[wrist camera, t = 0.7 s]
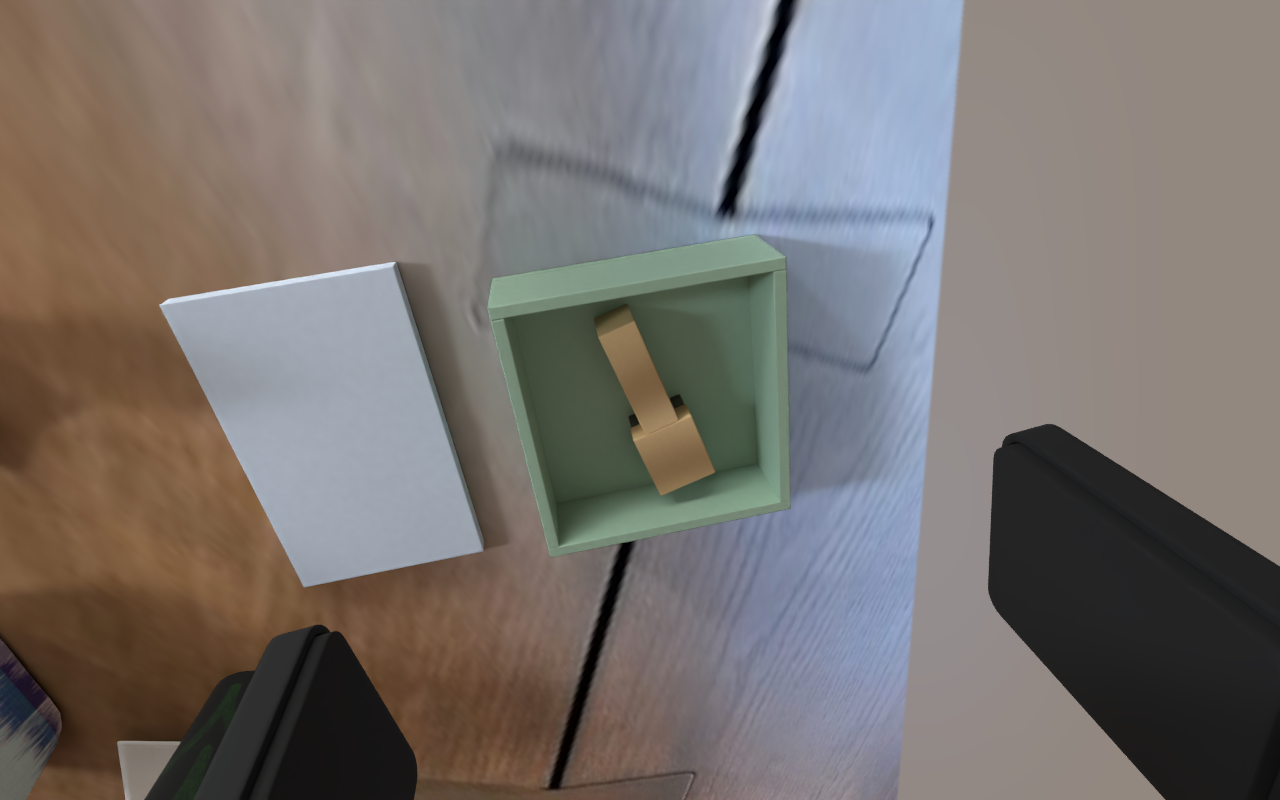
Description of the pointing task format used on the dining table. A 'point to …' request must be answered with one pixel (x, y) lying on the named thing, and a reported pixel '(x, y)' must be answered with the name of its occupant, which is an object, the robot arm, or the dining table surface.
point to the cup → (201, 742)
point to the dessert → (143, 765)
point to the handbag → (23, 728)
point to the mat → (333, 419)
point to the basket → (687, 364)
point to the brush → (653, 407)
